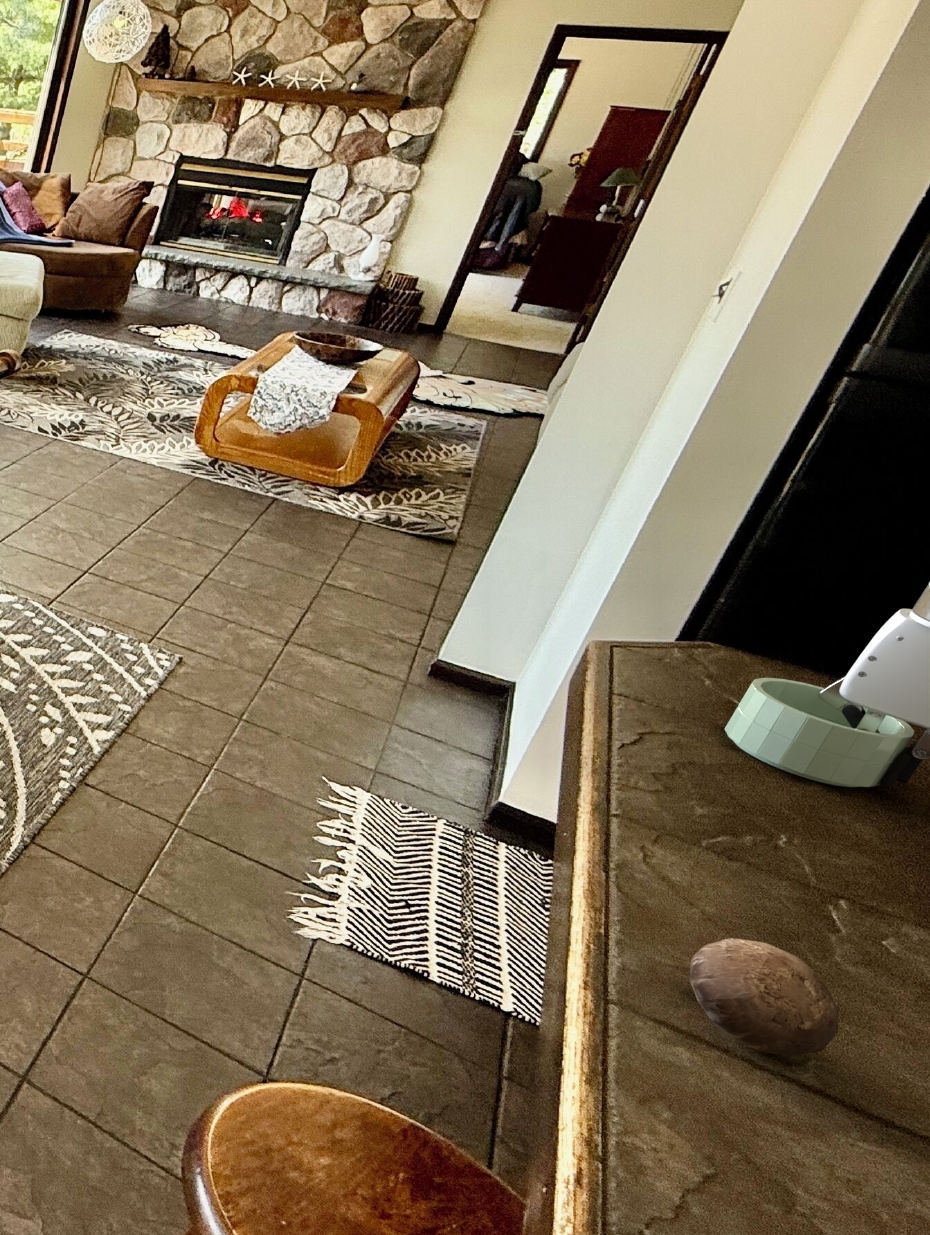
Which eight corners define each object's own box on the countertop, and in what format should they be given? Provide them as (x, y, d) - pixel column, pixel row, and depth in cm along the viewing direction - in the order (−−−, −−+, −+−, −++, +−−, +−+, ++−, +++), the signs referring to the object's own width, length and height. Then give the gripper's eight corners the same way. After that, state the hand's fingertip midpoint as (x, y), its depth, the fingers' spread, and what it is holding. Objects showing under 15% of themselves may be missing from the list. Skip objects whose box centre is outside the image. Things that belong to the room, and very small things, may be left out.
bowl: (793, 732, 114) (825, 681, 112) (912, 795, 104) (950, 741, 101) (692, 725, 114) (721, 674, 111) (801, 787, 104) (836, 733, 101)
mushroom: (669, 920, 78) (752, 905, 73) (783, 999, 76) (878, 990, 70) (636, 1003, 76) (719, 994, 70) (754, 1088, 73) (850, 1085, 68)
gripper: (1117, 646, 94) (994, 810, 101) (862, 577, 106) (768, 729, 113) (1112, 664, 90) (984, 834, 97) (847, 591, 102) (752, 747, 109)
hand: (869, 776), depth 105 cm, fingers closed on bowl
